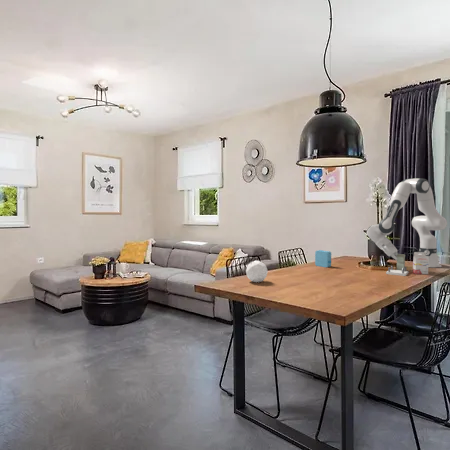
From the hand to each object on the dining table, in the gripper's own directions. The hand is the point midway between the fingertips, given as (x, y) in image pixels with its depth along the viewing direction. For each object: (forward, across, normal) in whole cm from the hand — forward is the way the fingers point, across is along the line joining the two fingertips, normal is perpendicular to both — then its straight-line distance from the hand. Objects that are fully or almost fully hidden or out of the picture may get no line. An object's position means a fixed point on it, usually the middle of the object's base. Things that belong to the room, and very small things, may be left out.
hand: (398, 258), depth 265 cm
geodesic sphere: (-39, -91, +52) cm, 112 cm away
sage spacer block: (+7, 0, +5) cm, 9 cm away
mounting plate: (+7, -12, +5) cm, 15 cm away
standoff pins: (+6, -12, +4) cm, 14 cm away
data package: (-30, -12, +43) cm, 54 cm away
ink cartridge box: (+17, -2, -4) cm, 17 cm away
